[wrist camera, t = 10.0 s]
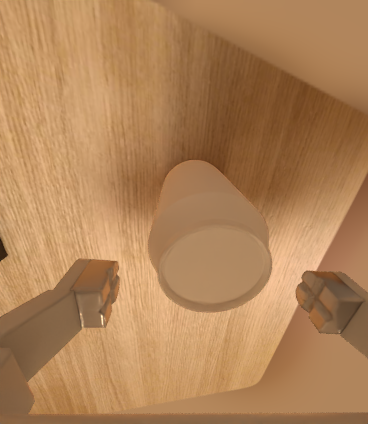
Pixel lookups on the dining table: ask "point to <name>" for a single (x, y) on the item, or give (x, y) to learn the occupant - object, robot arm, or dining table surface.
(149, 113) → the dining table surface
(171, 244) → the beverage can
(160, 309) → the dining table surface
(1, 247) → the scale
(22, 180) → the dining table surface
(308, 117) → the dining table surface
